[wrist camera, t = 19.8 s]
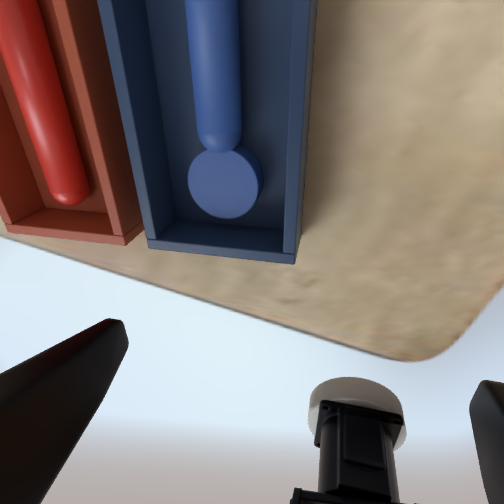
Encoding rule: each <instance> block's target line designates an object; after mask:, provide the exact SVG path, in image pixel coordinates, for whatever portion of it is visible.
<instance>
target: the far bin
mask: <svg viewBox="0 0 504 504" xmlns="http://www.w3.org/2000/svg"><path fill="white" fill-rule="evenodd" d="M37 2H38V5H39V9H40V12H41V16H42V20H43V23H44V27H45V30H46V34H47V37H48V41H49V44H50V48H51V51H52V55H53V58H54V62H55V65H56V69H57V72H58V76H59V80H60V83H61V87H62V90H63V94H64V97H65V101H66V104H67V108H68V111H69V115H70V118H71V122H72V125H73V129H74V132H75V136H76V140H77V143H78V147H79V150H80V154H81V157H82V161H83V164H84V168H85V171H86V175H87V178H88V182H89V186H90V192H89V195H88V197H87V198H86V199H85V201H83V202H82V203H80V204H77V205H65V204H62V203H60V202H58V201H57V200H56V199H54V197H53V196H52V195H51V193H50V191H49V188H48V185H47V182H46V179H45V177H44V174H43V171H42V168H41V165H40V162H39V159H38V157H37V154H36V151H35V148H34V145H33V142H32V140H31V137H30V134H29V131H28V128H27V125H26V123H25V120H24V117H23V114H22V111H21V108H20V105H19V103H18V100H17V97H16V94H15V91H14V88H13V86H12V83H11V80H10V77H9V74H8V71H7V69H6V66H5V63H4V60H3V57H2V54H1V51H0V215H1V218H2V220H3V222H4V223H5V226H6V229H7V231H8V232H9V233H17V234H26V235H35V236H44V237H52V238H61V239H70V240H79V241H88V242H97V243H106V244H115V245H123V246H126V245H127V244H128V243H129V242H131V241H132V240H133V239H134V238H135V237H136V236H137V235H139V234H140V233H141V232H142V231H143V230H144V224H143V219H142V214H141V210H140V205H139V200H138V195H137V190H136V186H135V181H134V176H133V171H132V166H131V161H130V157H129V152H128V147H127V142H126V137H125V132H124V128H123V123H122V118H121V113H120V108H119V103H118V99H117V94H116V89H115V84H114V79H113V74H112V70H111V65H110V60H109V55H108V50H107V45H106V41H105V36H104V31H103V26H102V21H101V16H100V12H99V7H98V2H97V0H37Z"/></svg>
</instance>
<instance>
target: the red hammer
mask: <svg viewBox="0 0 504 504" xmlns="http://www.w3.org/2000/svg"><path fill="white" fill-rule="evenodd" d="M0 51H1V54H2V57H3V60H4V63H5V66H6V69H7V71H8V74H9V77H10V80H11V83H12V86H13V88H14V91H15V94H16V97H17V100H18V103H19V105H20V108H21V111H22V114H23V117H24V120H25V123H26V125H27V128H28V131H29V134H30V137H31V140H32V142H33V145H34V148H35V151H36V154H37V157H38V159H39V162H40V165H41V168H42V171H43V174H44V177H45V179H46V182H47V185H48V188H49V191H50V193H51V195H52V196H53V197H54V199H56V200H57V201H58V202H60V203H62V204H65V205H77V204H80V203H82V202H83V201H85V199H86V198H87V197H88V195H89V192H90V186H89V182H88V178H87V175H86V171H85V168H84V164H83V161H82V157H81V154H80V150H79V147H78V143H77V140H76V136H75V132H74V129H73V125H72V122H71V118H70V115H69V111H68V108H67V104H66V101H65V97H64V94H63V90H62V87H61V83H60V80H59V76H58V72H57V69H56V65H55V62H54V58H53V55H52V51H51V48H50V44H49V41H48V37H47V34H46V30H45V27H44V23H43V20H42V16H41V12H40V9H39V5H38V2H37V0H0Z"/></svg>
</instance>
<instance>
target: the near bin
mask: <svg viewBox="0 0 504 504" xmlns="http://www.w3.org/2000/svg"><path fill="white" fill-rule="evenodd" d="M97 2H98V7H99V12H100V16H101V21H102V26H103V31H104V36H105V41H106V45H107V50H108V55H109V60H110V65H111V70H112V74H113V79H114V84H115V89H116V94H117V99H118V103H119V108H120V113H121V118H122V123H123V128H124V132H125V137H126V142H127V147H128V152H129V157H130V161H131V166H132V171H133V176H134V181H135V186H136V190H137V195H138V200H139V205H140V210H141V214H142V219H143V224H144V229H145V234H146V238H147V243H148V248H151V249H159V250H168V251H177V252H186V253H195V254H204V255H213V256H222V257H230V258H239V259H248V260H257V261H266V262H275V263H284V264H295V261H296V256H297V252H298V247H299V243H300V239H301V229H302V214H303V200H304V186H305V171H306V157H307V143H308V128H309V114H310V99H311V85H312V71H313V56H314V42H315V28H316V13H317V0H238V14H239V46H240V78H241V110H242V136H241V139H240V141H239V143H238V144H239V145H241V146H243V147H245V148H246V149H248V150H249V151H250V152H251V153H252V154H253V155H254V156H255V157H256V159H257V160H258V162H259V164H260V166H261V169H262V173H263V187H262V191H261V193H260V195H259V197H258V199H257V201H256V202H255V204H254V205H253V207H252V208H251V209H250V210H249V211H248V212H247V213H246V214H244V215H242V216H240V217H237V218H233V219H222V218H217V217H214V216H212V215H210V214H208V213H207V212H205V211H204V210H203V209H201V208H200V207H199V206H198V205H197V203H196V202H195V201H194V199H193V197H192V195H191V193H190V190H189V187H188V171H189V167H190V165H191V163H192V161H193V159H194V158H195V157H196V156H197V155H198V154H199V153H201V152H202V151H203V150H205V149H206V148H205V147H204V145H203V144H202V143H201V141H200V139H199V137H198V132H197V123H196V113H195V103H194V92H193V82H192V72H191V62H190V52H189V42H188V32H187V22H186V11H185V1H184V0H97Z"/></svg>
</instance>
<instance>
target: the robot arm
mask: <svg viewBox="0 0 504 504" xmlns="http://www.w3.org/2000/svg"><path fill="white" fill-rule="evenodd" d="M128 344H129V342H128V337H127V334H126V330H125V327H124V324H123V322H122V321H121V320H117V319H111V318H108V319H105V320H103V321H101V322H99V323H97V324H95V325H93V326H91V327H89V328H87V329H85V330H84V331H82V332H80V333H78V334H76V335H74V336H72V337H70V338H68V339H66V340H65V341H62V342H61V343H59V344H57V345H55V346H53V347H51V348H49V349H47V350H45V351H43V352H41V353H39V354H37V355H36V356H34V357H32V358H30V359H28V360H26V361H24V362H22V363H20V364H18V365H16V366H14V367H12V368H10V369H9V370H6V371H5V372H3V373H1V374H0V504H41V502H42V500H43V499H44V497H45V495H46V494H47V492H48V490H49V489H50V487H51V485H52V484H53V482H54V480H55V479H56V477H57V475H58V474H59V472H60V470H61V469H62V467H63V465H64V464H65V462H66V461H67V459H68V457H69V456H70V454H71V452H72V451H73V449H74V447H75V446H76V444H77V442H78V441H79V439H80V437H81V436H82V434H83V432H84V431H85V429H86V427H87V426H88V424H89V422H90V421H91V419H92V417H93V416H94V414H95V413H96V411H97V409H98V408H99V406H100V404H101V402H102V401H103V398H104V397H105V395H106V393H107V391H108V389H109V386H110V385H111V382H112V380H113V378H114V376H115V374H116V372H117V370H118V368H119V366H120V364H121V362H122V360H123V358H124V356H125V353H126V351H127V349H128ZM469 412H470V418H471V423H472V428H473V433H474V438H475V444H476V449H477V454H478V459H479V465H480V470H481V475H482V479H483V484H484V488H485V492H486V495H487V498H488V502H489V504H504V383H501V382H494V381H489V380H483V381H481V382H480V384H479V386H478V388H477V390H476V392H475V394H474V396H473V398H472V400H471V402H470V407H469ZM402 426H403V417H402V416H401V415H400V414H397V413H392V412H387V411H382V410H376V409H371V408H366V407H361V406H356V405H351V404H345V403H340V402H335V401H330V400H321V401H320V405H319V412H318V418H317V425H316V432H315V439H314V445H315V446H316V447H318V448H320V463H319V481H318V492H313V491H306V490H302V489H301V488H294V493H293V498H292V499H291V500H290V504H404V503H400V500H399V492H398V484H397V477H396V469H395V461H394V453H393V449H394V447H395V444H396V441H397V439H398V436H399V433H400V431H401V428H402ZM414 504H416V503H414Z"/></svg>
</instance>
